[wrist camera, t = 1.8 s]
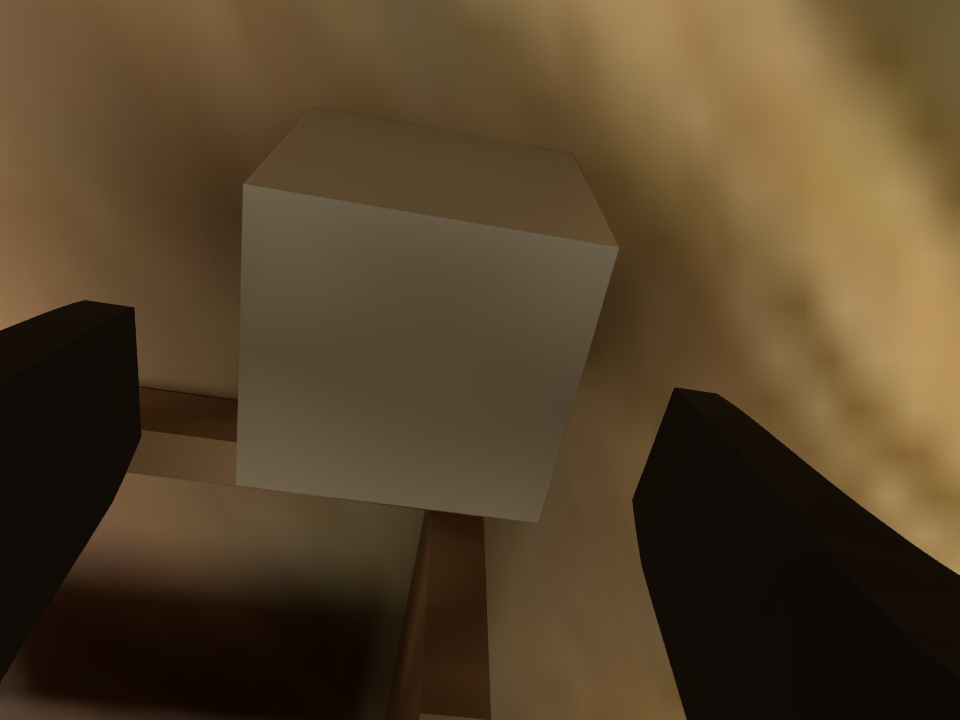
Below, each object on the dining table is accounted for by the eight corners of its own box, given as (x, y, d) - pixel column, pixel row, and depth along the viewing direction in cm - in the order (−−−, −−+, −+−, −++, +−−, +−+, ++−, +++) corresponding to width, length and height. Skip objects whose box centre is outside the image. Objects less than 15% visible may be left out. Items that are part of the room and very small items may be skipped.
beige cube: (572, 152, 14) (619, 248, 10) (519, 370, 17) (538, 522, 12) (312, 105, 14) (243, 184, 9) (296, 338, 16) (235, 485, 12)
